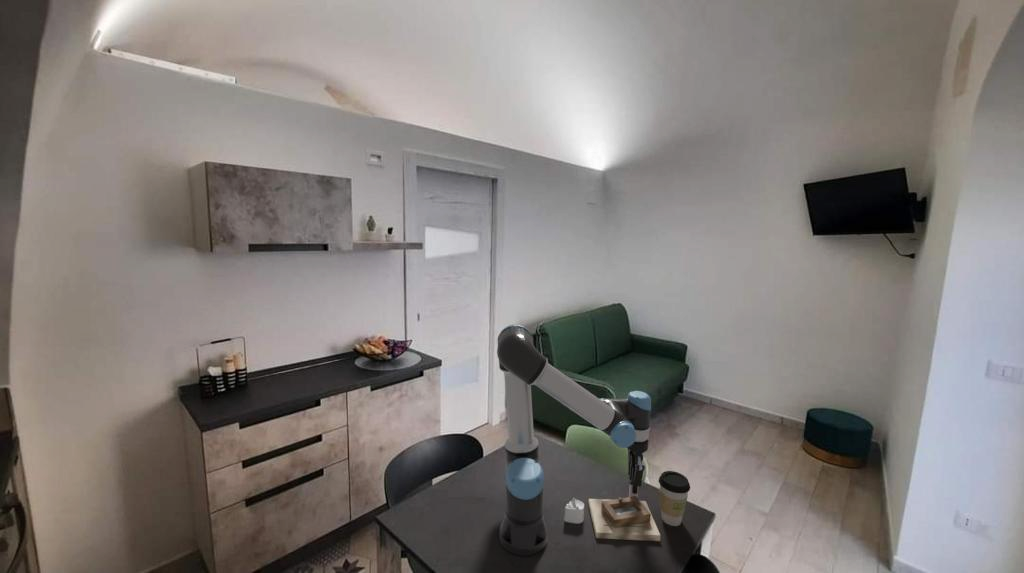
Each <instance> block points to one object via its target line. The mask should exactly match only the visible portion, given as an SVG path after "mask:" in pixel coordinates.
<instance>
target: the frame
mask: <svg viewBox="0 0 1024 573" xmlns="http://www.w3.org/2000/svg"><path fill="white" fill-rule="evenodd" d="M640 501H641V500H640V499H639V498H637V497H636V496H633V497H629V496H627V497H620V496H619V497H618V498H615V499H608V501H602V506H601V509H602V511H603V512H604V514H605V515H606V517H607V518H608V520H609V521H610V523H611V524H612V526H613V527H614V528H617V527H622V526H628V525H634V524H640V523H645V522H650V517H651V515H652V513H651V514H650V512H651V511H650V512H649V511H648V510H647V509H646V508H645V506H644V505H643V504H642V503H641V502H640Z"/></svg>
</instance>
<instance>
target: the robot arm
mask: <svg viewBox="0 0 1024 573" xmlns="http://www.w3.org/2000/svg"><path fill="white" fill-rule="evenodd" d="M496 349H497V350H496V354H497V358H498V366H499V367H498V368H499V369H500V371H502V372H503V373H504V388H505V389H504V390H505V402H506V415H507V416H506V420H507V434H508V438H507V439H506V440H505V442H504V453H505V457H504V458H505V513H504V516H503V519H502V521H501V523H500V527H499V541H500V544H501V546H502V547H503V548H504V549H505V550H506V551H507V552H510V553H511V554H512V555H517V556H520V557H521V556H522V557H526V556H527V557H528V556H532V555H536V554H538V553H540V552H541V551H542V550H543V549H544V548H546V545H547V543H548V528H547V525H546V521H545V519H544V515H543V510H544V509H543V508H544V484H545V474H544V469H543V467H542V466H541V462H540V448H539V446H540V445H539V440H538V439H537V437H535V435H534V418H533V417H534V416H533V406H532V405H533V401H532V385H534V386H536V387H537V388H538V389H540V390H541V391H543V392H544V393H546V394H547V395H549V396H551V397H552V398H553V399H555V400H556V401H558V402H559V403H561V404H562V405H563V406H565V407H567V408H568V409H569V410H570V411H571V412H573V413H575V414H577V415H578V416H579V417H581V418H582V419H584V420H585V421H587V422H588V423H589V424H591V425H593V426H594V428H596V429H598V430H599V431H601V432H603V433H605V435H607V436H609V438H610V440H611V441H612V442H613V444H614V445H615V446H616V447H618V448H622V449H625V448H626V449H627V465H628V466H627V475H628V476H629V477H628V479H629V481H628V484H629V488H628V489H629V490H628V497H633V496H636V497H637V498H638V497H639V487H642V482H643V477H644V476H643V475H644V471H645V469H646V466H645V465H644V464H643V461H644V455H643V453H645V452H647V451H648V449H649V436H650V431H651V430H652V429H651V428H650V422H651V421H650V420H651V413H652V412H651V411H652V398H651V396H650V395H649V394H648V393H646V392H645V391H641V390H634V391H630V392H628V393H627V394H628V395H627V397H626V398H604V397H602V398H599V397H597V396H596V395H594V394H593V393H591V392H590V391H589V390H587V389H586V388H584V387H583V386H581V385H580V384H578V383H577V382H576V381H575V380H573V379H571V378H570V376H569V377H568V375H566V374H564V373H563V372H561V371H560V370H558V368H556V367H554V366H553V365H551V364H550V363H549V361H548V360H549V359H548V358H547V357H546V356H545V355H543V354H542V353H541V352H540V351H539V350H538V349H537V348H536V346H535V345H534V337H533V335H532V333H531V331H529V329H528V328H526V327H525V326H523V325H520V324H517V323H516V324H510V325H507V326H505V327H504V328H503V329H502V330H501V331H500V332H499V335H498V336H497V348H496ZM638 499H639V498H638Z"/></svg>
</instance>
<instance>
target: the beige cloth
mask: <svg viewBox="0 0 1024 573" xmlns="http://www.w3.org/2000/svg"><path fill="white" fill-rule="evenodd" d="M608 500H609V499H608V498H606V499H604V498H603V499H601V498H588V508H589V512H590V517H591V521H592V526H593V530H594V535H595V538H596V539H604V540H605V539H606V540H607V539H608V540H611V539H612V540H631V541H648V542H649V541H653V542H661V533H660V532H659V528H658V526H657V524H656V521H655V519H654V518H653V515H652V513H651V511H650V510H651V509H650V508H649V506H648V503H647V502H646V500H640V502H641V503H642V504H643V505H644V506H645V508H646V509H647V510H648V511H649V512H650V514H651V517H650V522H645V523H640V524H634V525H628V526H622V527H617V528H614V527H613V526H612V524H611V523H610V521H609V520H608V518H607V517H606V515H605V514H604V512H603V511H602V509H601V506H602V501H608Z"/></svg>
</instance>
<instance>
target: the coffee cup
mask: <svg viewBox="0 0 1024 573" xmlns="http://www.w3.org/2000/svg"><path fill="white" fill-rule="evenodd" d="M658 484H659V494H660V495H659V501H660V502H659V503H660V511H661V520H662V521H663V523H664V524H666V525H669V526H672V527H678V526H680V525H681V523H682V521H683V515H684V513H685V509H686V506H687V500H688V493H689V492H690V491H691V484H690V482H689V480H688V478H687V476H685V475H684V474H683V473H680V472H677V471H675V470H674V471H673V470H667V471H664V472H661V474H660V476H659V477H658Z"/></svg>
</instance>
